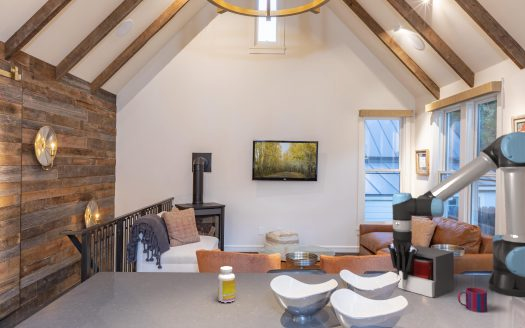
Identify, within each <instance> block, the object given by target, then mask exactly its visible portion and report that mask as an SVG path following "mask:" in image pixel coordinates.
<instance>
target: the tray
mask: <svg viewBox="0 0 525 328" xmlns="http://www.w3.org/2000/svg"><path fill="white" fill-rule="evenodd" d="M397 284H398V286H397V288H398V289H401V290H404V291H408V292H412V293H416V294H419V295H422V296H425V297H429V298H436V297H435V281H431V280H427V279H424V278H420V277H416V276H412V275H408V279H407V280H406V287H403V288H401V287H399V283H398V282H397Z"/></svg>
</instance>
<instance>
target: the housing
mask: <svg viewBox="0 0 525 328" xmlns="http://www.w3.org/2000/svg"><path fill="white" fill-rule="evenodd" d="M413 247H414V248H415V249H418V252H417V253H416V255H415V257H418V256H421V257H426V258H431V259H433V276H434V281H435V297H434V298H438V297H441V296H443V295H446V294H448V293H449V294H450V292H451V293H452V292H453V291H455V270H454V269H455V268H454V267H455V266H454V265H455V260H454V259H455V257H454V256H455V253H454V251H449V250H445V249H439V248H434V247H429V246H423V245H416V246H413ZM410 250H411V249H410ZM410 250H409V255H410ZM409 255H408V260H409ZM408 275H412V276H414V264H413V269H412V270H411V271H408Z"/></svg>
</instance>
